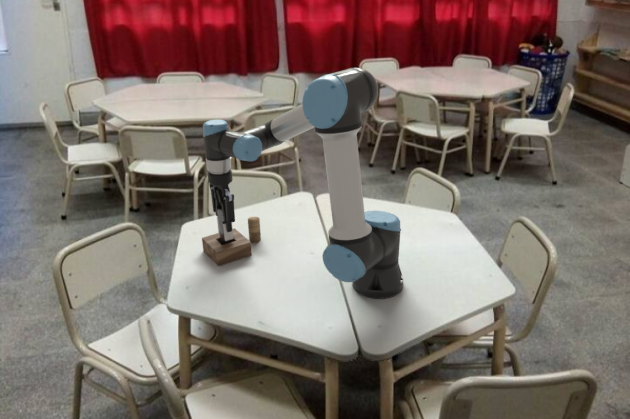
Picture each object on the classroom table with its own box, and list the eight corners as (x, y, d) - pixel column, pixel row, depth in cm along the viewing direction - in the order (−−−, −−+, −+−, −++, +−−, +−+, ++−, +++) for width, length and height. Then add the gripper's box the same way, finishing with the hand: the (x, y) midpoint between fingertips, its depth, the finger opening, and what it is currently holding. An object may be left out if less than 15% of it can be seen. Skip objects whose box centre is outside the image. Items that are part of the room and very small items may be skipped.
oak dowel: (262, 240, 191) (261, 219, 187) (252, 243, 189) (251, 222, 185) (257, 235, 194) (256, 215, 190) (247, 239, 192) (245, 218, 188)
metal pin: (235, 248, 182) (231, 210, 176) (224, 251, 180) (220, 213, 174) (229, 243, 185) (226, 205, 179) (218, 246, 183) (214, 208, 177)
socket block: (251, 255, 182) (250, 242, 179) (218, 266, 176) (216, 252, 173) (235, 241, 191) (234, 228, 188) (203, 250, 185) (201, 237, 183)
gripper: (242, 175, 166) (248, 243, 176) (219, 159, 179) (225, 224, 189) (219, 181, 162) (226, 250, 172) (197, 164, 175) (204, 229, 185)
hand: (225, 236), depth 180 cm, fingers closed on metal pin, 4 cm apart
